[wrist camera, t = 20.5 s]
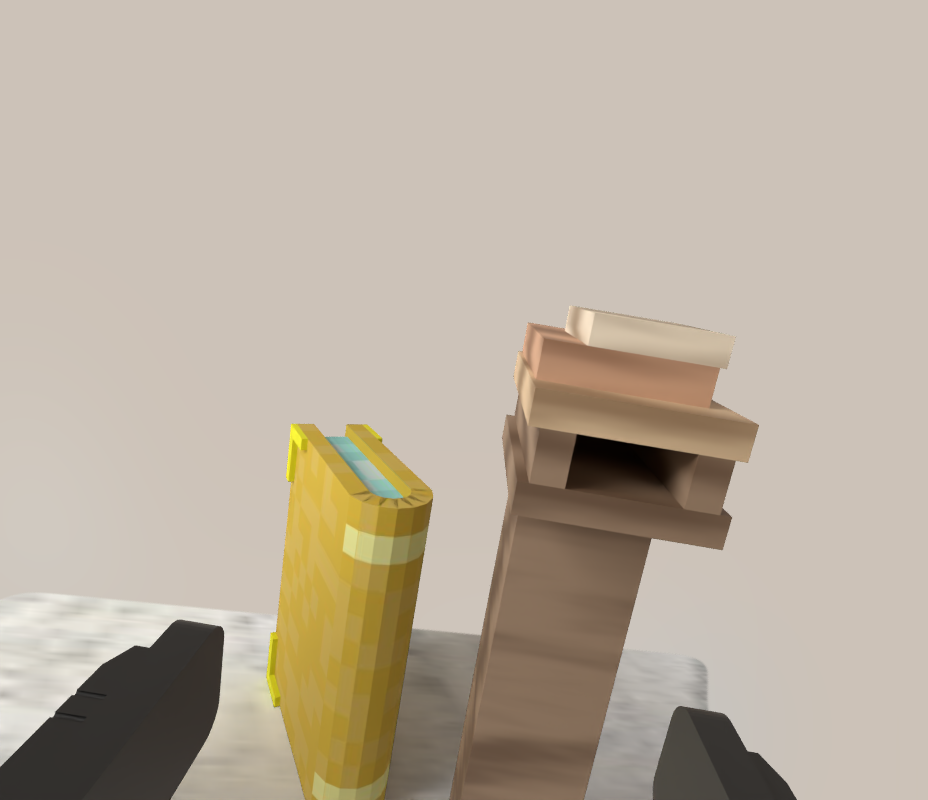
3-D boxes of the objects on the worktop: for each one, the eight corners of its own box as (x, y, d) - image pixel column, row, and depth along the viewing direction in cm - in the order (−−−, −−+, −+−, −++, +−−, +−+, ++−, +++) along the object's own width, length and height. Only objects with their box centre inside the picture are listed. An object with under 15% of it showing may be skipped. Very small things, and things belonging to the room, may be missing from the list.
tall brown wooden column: (575, 1055, 29) (782, 345, 21) (410, 1026, 30) (551, 306, 21) (550, 841, 41) (679, 323, 32) (430, 820, 41) (528, 297, 32)
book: (266, 677, 52) (291, 423, 46) (336, 662, 55) (367, 424, 50) (310, 848, 38) (353, 511, 32) (401, 813, 41) (454, 504, 36)
